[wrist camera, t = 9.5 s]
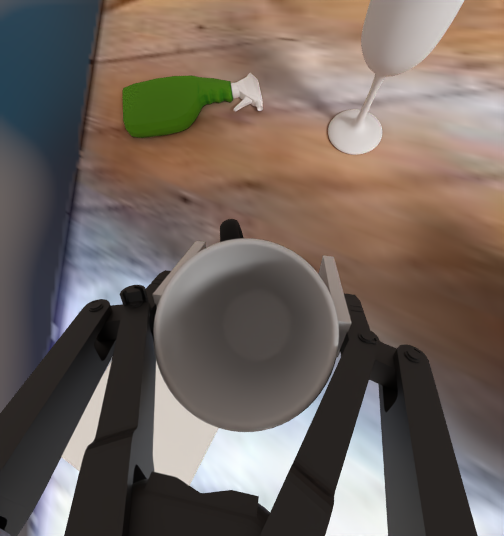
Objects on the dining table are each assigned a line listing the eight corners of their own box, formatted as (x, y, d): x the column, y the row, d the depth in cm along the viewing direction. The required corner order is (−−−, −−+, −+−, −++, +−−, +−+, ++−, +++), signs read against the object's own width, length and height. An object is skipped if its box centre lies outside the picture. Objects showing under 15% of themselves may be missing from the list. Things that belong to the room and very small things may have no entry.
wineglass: (373, 106, 39) (489, -128, 18) (388, 149, 37) (534, -57, 17) (322, 115, 39) (380, -103, 19) (334, 159, 37) (411, -30, 17)
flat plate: (151, 318, 34) (136, 319, 30) (244, 375, 32) (241, 383, 28) (82, 435, 32) (56, 452, 28) (177, 507, 29) (163, 537, 25)
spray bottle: (129, 97, 44) (256, 74, 43) (131, 145, 42) (265, 121, 41) (120, 81, 41) (255, 56, 40) (121, 132, 39) (264, 107, 38)
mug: (319, 365, 19) (368, 412, 10) (217, 386, 20) (162, 452, 10) (286, 235, 22) (296, 168, 12) (196, 256, 23) (137, 206, 13)
